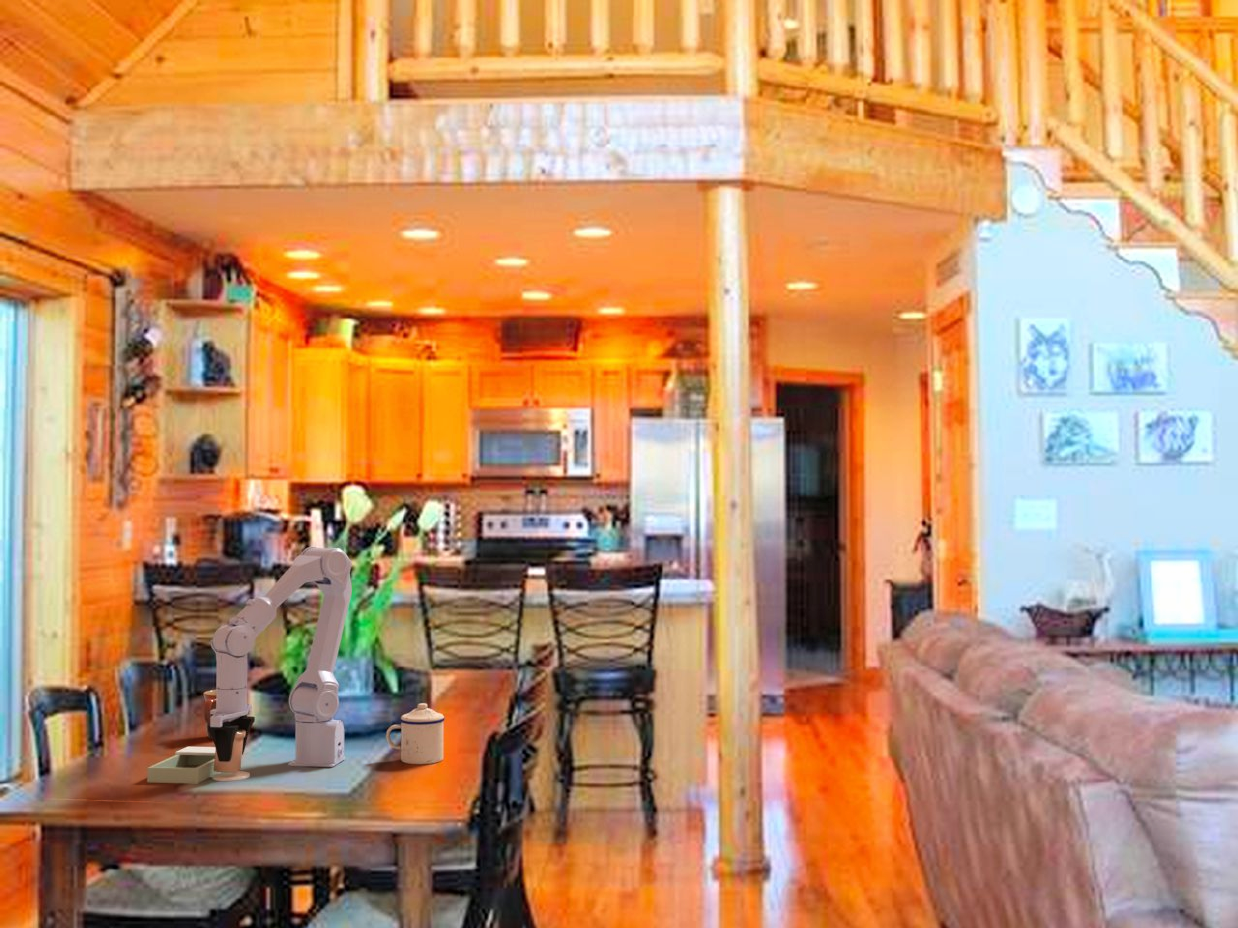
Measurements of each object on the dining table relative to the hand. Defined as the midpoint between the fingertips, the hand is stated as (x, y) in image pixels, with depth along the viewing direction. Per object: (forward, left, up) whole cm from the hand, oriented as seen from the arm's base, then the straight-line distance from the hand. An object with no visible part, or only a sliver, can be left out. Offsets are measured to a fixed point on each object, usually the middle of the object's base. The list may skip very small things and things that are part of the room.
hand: (231, 758), depth 240 cm
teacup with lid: (-31, -20, -4) cm, 37 cm away
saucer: (0, 0, -4) cm, 4 cm away
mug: (+19, -37, -4) cm, 42 cm away
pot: (+1, 0, -2) cm, 2 cm away
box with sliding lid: (+9, -2, -4) cm, 10 cm away
